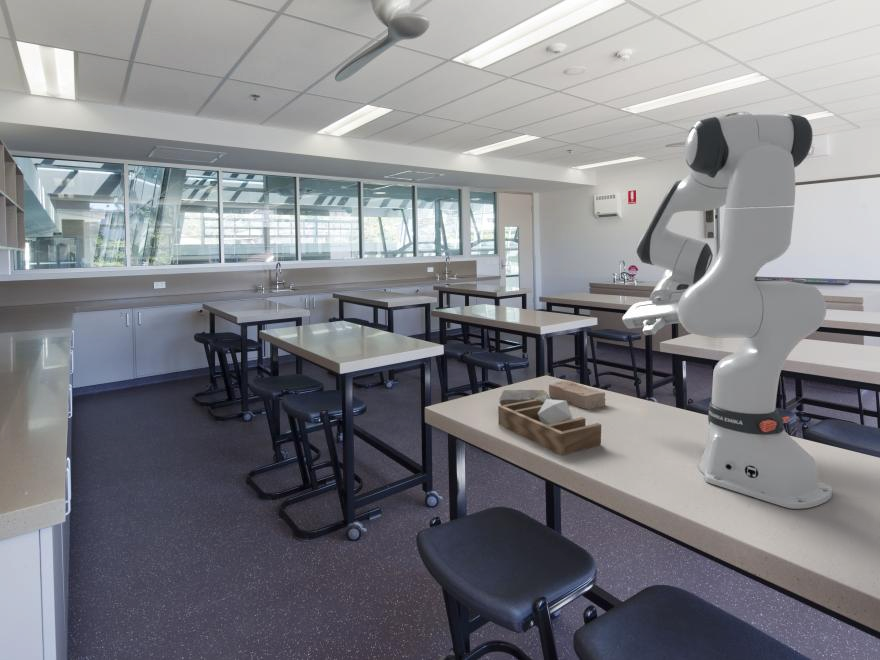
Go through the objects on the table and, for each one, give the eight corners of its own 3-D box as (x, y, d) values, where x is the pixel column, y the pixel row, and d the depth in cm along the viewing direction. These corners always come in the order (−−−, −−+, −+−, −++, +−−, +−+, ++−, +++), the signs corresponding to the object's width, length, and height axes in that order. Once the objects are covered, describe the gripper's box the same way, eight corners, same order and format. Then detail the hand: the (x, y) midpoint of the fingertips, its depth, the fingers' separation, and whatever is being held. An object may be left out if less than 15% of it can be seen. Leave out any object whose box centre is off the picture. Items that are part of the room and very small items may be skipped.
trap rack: (600, 444, 122) (601, 424, 121) (561, 455, 116) (561, 434, 116) (534, 416, 144) (534, 399, 143) (498, 424, 138) (498, 406, 137)
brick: (607, 405, 153) (607, 390, 152) (586, 410, 149) (586, 394, 148) (566, 393, 167) (567, 379, 167) (547, 397, 163) (547, 383, 162)
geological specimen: (499, 389, 155) (549, 387, 153) (500, 409, 156) (550, 407, 154) (498, 398, 144) (553, 396, 142) (500, 419, 145) (554, 417, 143)
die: (556, 441, 127) (579, 409, 127) (527, 420, 130) (550, 389, 130) (560, 441, 134) (581, 411, 134) (533, 421, 138) (554, 392, 137)
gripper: (629, 295, 148) (609, 328, 141) (698, 283, 131) (679, 319, 124) (640, 311, 150) (620, 344, 143) (709, 302, 133) (690, 338, 126)
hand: (648, 333), depth 134 cm, fingers closed
